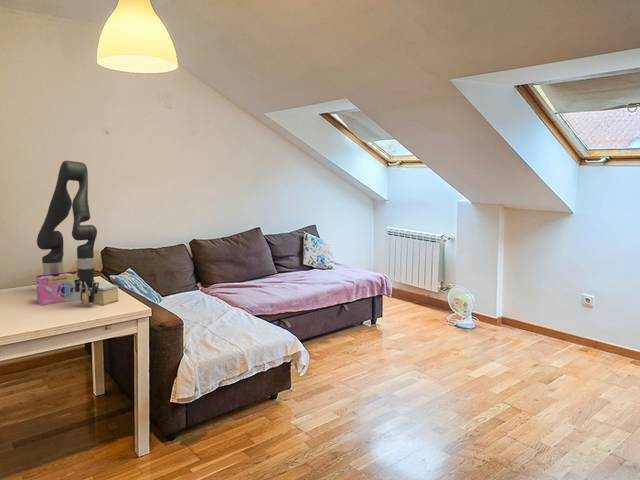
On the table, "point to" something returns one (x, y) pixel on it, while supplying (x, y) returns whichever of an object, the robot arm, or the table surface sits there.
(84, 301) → the tan cylinder cream top
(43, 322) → the table surface
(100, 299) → the box
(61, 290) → the gum box
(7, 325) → the table surface
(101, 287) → the lid
